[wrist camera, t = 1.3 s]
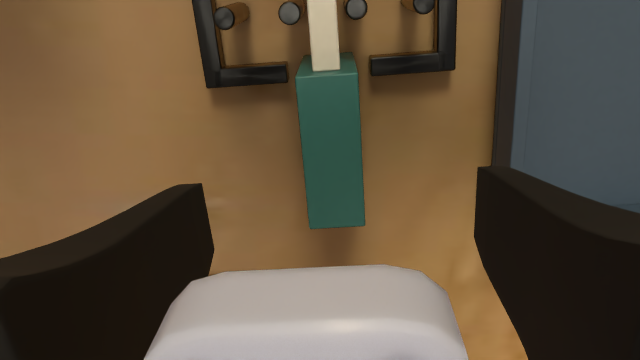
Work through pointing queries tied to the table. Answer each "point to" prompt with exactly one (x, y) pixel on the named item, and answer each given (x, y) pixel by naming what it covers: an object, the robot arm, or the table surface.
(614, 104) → the tray
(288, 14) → the rack
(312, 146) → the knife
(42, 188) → the table surface
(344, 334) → the robot arm
